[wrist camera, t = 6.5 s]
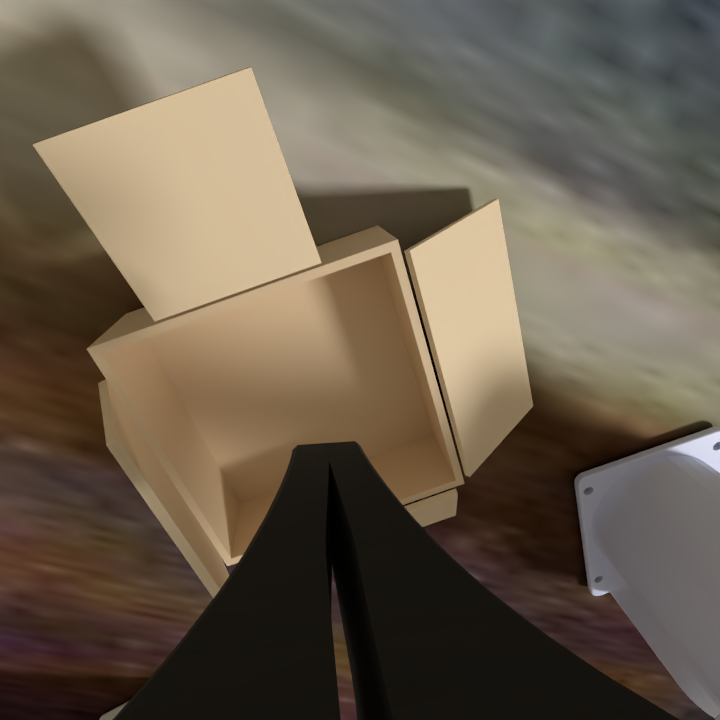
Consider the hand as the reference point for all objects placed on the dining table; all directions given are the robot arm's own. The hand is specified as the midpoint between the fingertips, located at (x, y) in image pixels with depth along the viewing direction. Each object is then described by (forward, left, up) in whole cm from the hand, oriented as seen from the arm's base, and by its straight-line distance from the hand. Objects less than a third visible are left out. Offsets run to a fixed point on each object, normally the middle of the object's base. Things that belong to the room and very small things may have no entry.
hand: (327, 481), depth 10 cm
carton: (-2, +1, -9) cm, 9 cm away
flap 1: (+3, +1, -6) cm, 7 cm away
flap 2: (-2, +6, -6) cm, 9 cm away
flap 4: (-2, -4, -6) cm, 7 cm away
